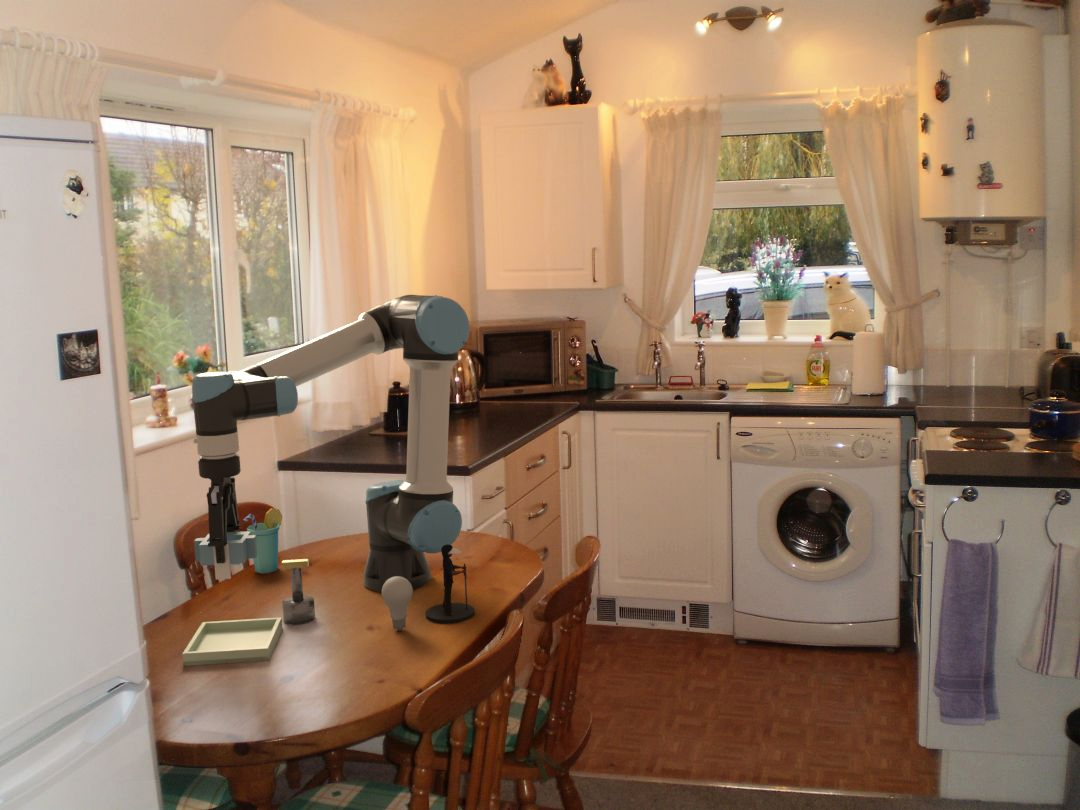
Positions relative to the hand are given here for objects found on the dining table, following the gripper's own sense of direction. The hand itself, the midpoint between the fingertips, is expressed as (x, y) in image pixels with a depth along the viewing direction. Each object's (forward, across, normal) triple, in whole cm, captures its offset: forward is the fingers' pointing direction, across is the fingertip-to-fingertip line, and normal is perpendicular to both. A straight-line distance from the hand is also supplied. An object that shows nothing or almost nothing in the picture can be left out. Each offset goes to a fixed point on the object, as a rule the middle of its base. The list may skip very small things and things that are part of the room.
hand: (228, 571), depth 210 cm
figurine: (+15, -10, +42) cm, 46 cm away
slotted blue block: (-3, 0, 0) cm, 3 cm away
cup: (+15, -48, -2) cm, 51 cm away
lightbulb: (+15, -3, +32) cm, 35 cm away
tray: (+15, 0, 0) cm, 15 cm away
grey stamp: (+15, -13, +11) cm, 23 cm away
